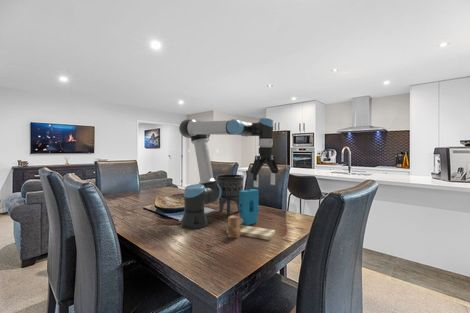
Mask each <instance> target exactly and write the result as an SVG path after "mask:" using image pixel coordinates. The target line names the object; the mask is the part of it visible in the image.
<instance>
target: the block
mask: <svg viewBox="0 0 470 313" xmlns="http://www.w3.org/2000/svg"><path fill="white" fill-rule="evenodd" d="M259 194H260V192H259V189H256V188H255V189H254V188H251V189H243V190H242V191H239V212H238V214H239V216H240V219H243V222H242V225H245V226H250V225H255V224H257V221H258V216H259V211H260V210H259V205H260V204H259V199H260V198H259V196H260V195H259Z"/></svg>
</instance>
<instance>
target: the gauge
mask: <svg viewBox="0 0 470 313" xmlns="http://www.w3.org/2000/svg"><path fill="white" fill-rule="evenodd" d="M227 217H228V218H227V229H228V233H227V237H228V238H233V239H238V238H240V236H241V235H240V227H242V225H243V224H242V222H243V219H240V215H231V214H230V216H227Z"/></svg>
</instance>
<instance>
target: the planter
mask: <svg viewBox="0 0 470 313" xmlns="http://www.w3.org/2000/svg"><path fill="white" fill-rule="evenodd" d="M215 180H216V183H217V184H218V185H219V186H220V187H221V191H222V193H221V197H220V198H219V199H218V202H219V207H218V208H219V212H223V211H224V206H225V204H226V217H230V216H231V204H232V202H234V203H235V205H236V207H237V212H238V213H239V191H242V190H244V182H245V181H244V175H242V174H233V173H232V174H217V175H216V176H215Z"/></svg>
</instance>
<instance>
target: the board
mask: <svg viewBox="0 0 470 313" xmlns="http://www.w3.org/2000/svg"><path fill="white" fill-rule="evenodd" d="M226 233H227V234H228V228H226ZM275 234H276V230H275V229H270V228H263V227H259V226H250V225H243V224H242V227H240V236H242V237H243V236H244V237H250V238H255V239H256V238H257V239H261V240H266V241H271V239H273V237H274V236H275Z"/></svg>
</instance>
